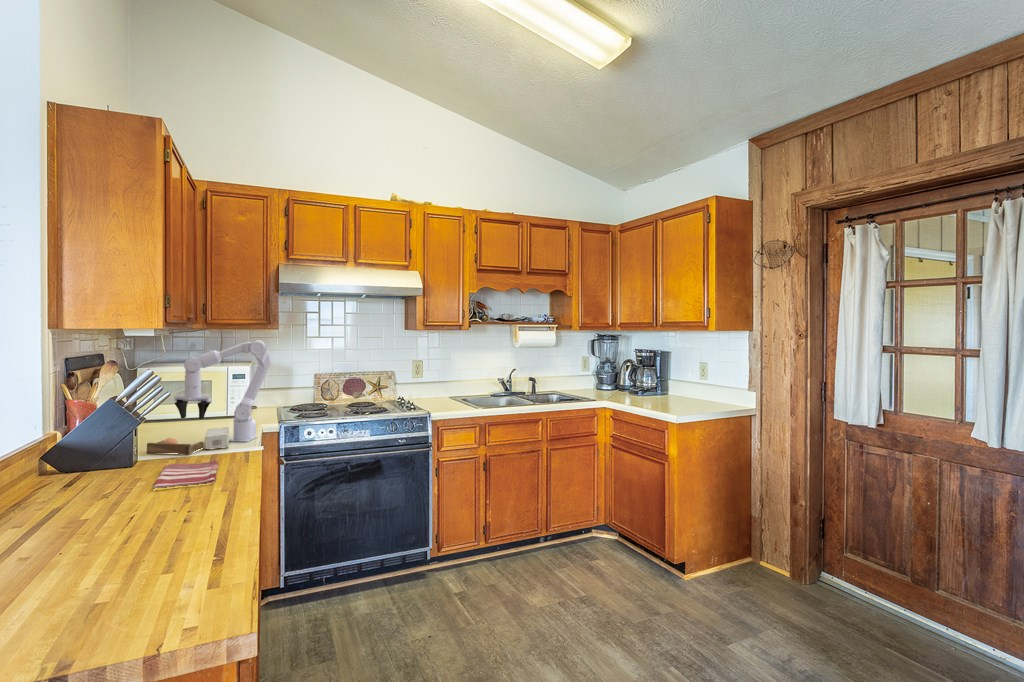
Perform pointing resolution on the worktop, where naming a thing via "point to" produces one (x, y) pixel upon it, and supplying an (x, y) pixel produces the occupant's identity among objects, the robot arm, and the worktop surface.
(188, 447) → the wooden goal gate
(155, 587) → the worktop surface
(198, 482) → the dish towel
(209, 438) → the skincare box
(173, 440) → the ball
